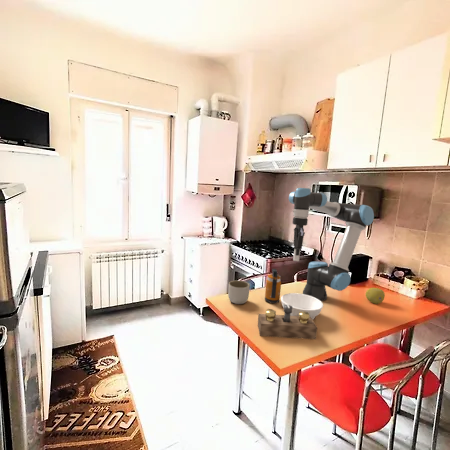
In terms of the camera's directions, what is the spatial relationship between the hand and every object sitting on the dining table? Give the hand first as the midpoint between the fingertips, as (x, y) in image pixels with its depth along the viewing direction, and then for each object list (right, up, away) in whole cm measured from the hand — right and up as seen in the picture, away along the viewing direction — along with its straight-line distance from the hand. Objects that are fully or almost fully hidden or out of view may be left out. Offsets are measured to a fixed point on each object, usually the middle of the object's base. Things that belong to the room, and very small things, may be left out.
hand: (296, 260), depth 146 cm
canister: (-10, -28, +19) cm, 35 cm away
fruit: (+57, -31, +28) cm, 71 cm away
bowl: (+3, -31, +3) cm, 31 cm away
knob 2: (-1, -32, -16) cm, 36 cm away
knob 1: (-17, -31, -16) cm, 39 cm away
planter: (-31, -27, +16) cm, 44 cm away
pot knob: (-9, -29, -16) cm, 34 cm away
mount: (-9, -32, -16) cm, 37 cm away
